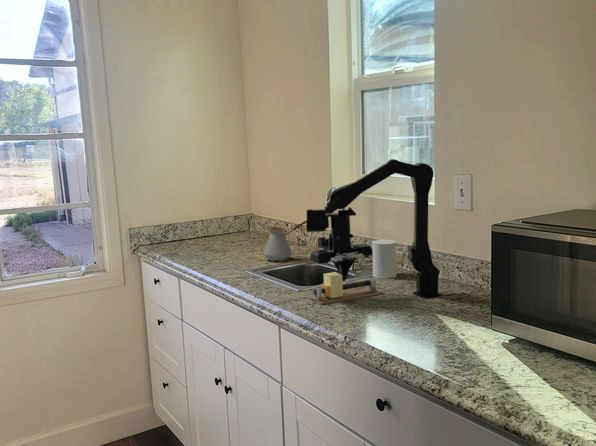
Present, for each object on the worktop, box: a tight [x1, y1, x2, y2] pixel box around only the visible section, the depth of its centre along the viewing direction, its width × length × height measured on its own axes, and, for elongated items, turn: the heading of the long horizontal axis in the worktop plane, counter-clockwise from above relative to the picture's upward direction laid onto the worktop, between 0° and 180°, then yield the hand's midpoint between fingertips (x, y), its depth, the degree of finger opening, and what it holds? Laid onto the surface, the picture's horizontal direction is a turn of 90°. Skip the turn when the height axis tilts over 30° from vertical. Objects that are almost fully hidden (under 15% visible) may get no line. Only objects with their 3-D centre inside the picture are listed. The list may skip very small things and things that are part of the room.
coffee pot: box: [263, 220, 306, 262], centre depth 233 cm, size 21×12×15 cm, turn 119°
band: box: [320, 283, 330, 297], centre depth 171 cm, size 3×1×3 cm, turn 26°
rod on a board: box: [307, 277, 382, 306], centre depth 174 cm, size 8×21×4 cm, turn 116°
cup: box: [371, 239, 398, 280], centre depth 198 cm, size 8×8×12 cm
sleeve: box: [323, 271, 344, 298], centre depth 172 cm, size 4×4×7 cm
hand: (343, 281), depth 174 cm, fingers closed
